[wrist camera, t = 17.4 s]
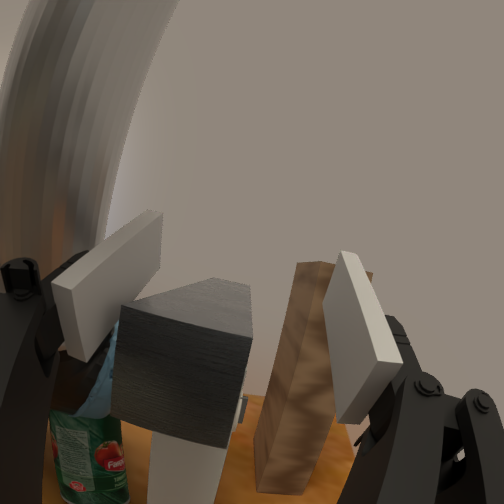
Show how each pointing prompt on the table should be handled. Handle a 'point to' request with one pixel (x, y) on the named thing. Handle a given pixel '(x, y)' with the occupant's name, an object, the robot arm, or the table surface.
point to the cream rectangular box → (187, 467)
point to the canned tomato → (89, 459)
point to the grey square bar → (183, 360)
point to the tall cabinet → (297, 389)
